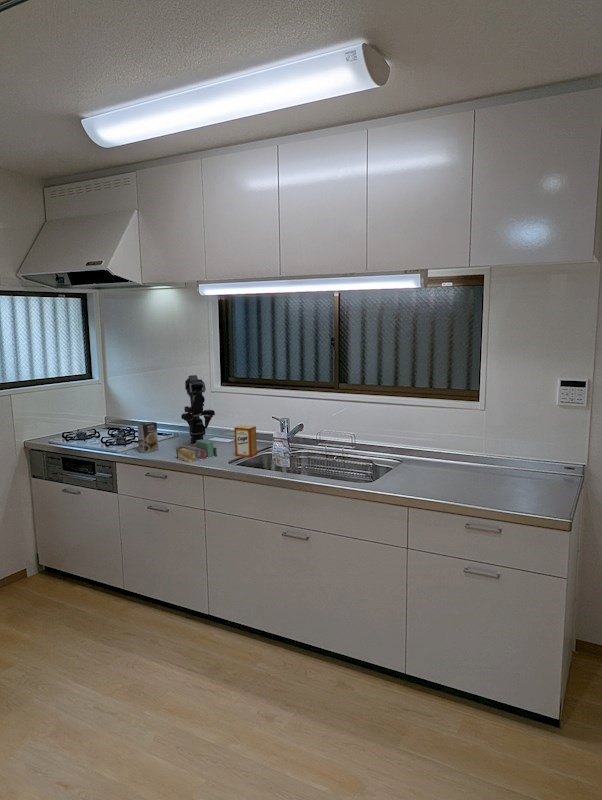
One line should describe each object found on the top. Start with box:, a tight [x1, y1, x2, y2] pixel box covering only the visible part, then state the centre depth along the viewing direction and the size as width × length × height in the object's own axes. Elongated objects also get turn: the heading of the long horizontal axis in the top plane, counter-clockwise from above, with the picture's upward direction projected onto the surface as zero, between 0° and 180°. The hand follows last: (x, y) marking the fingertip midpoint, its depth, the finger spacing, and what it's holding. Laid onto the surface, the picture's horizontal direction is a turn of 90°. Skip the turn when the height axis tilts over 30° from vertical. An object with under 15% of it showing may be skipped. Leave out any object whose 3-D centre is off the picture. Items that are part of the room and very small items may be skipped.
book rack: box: [175, 443, 218, 463], centre depth 299 cm, size 17×12×6 cm
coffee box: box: [137, 421, 159, 454], centre depth 315 cm, size 9×6×16 cm
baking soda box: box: [234, 424, 258, 458], centre depth 300 cm, size 10×6×16 cm
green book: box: [196, 439, 215, 459], centre depth 302 cm, size 4×11×8 cm, turn 43°
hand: (199, 429), depth 312 cm, fingers open, 9 cm apart
